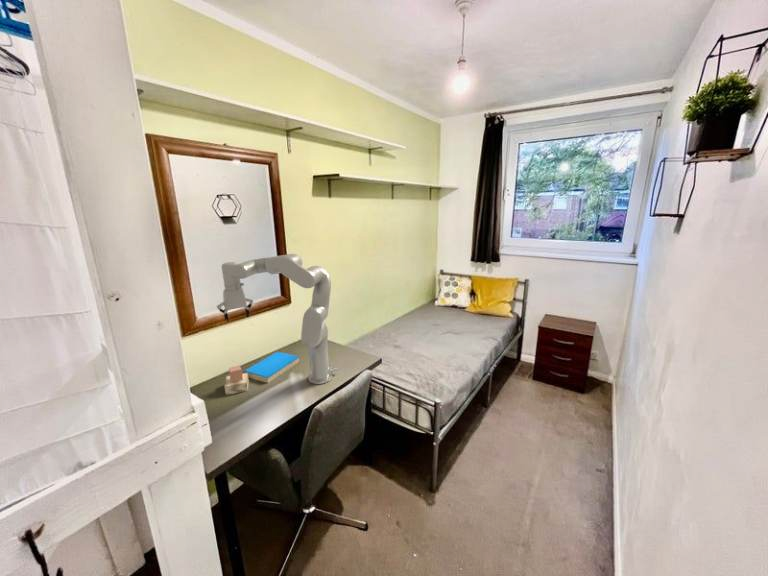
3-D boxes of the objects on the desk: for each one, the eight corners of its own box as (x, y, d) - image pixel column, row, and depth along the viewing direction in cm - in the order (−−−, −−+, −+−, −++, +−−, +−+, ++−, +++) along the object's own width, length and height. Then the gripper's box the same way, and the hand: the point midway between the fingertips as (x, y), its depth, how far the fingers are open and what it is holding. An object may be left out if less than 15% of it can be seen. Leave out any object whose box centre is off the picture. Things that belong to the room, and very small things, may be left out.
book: (299, 356, 188) (268, 376, 165) (299, 362, 189) (268, 384, 167) (276, 351, 194) (243, 370, 172) (277, 357, 195) (244, 377, 173)
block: (240, 375, 165) (239, 365, 164) (242, 379, 161) (241, 369, 160) (230, 378, 163) (228, 367, 161) (232, 382, 158) (230, 372, 157)
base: (248, 381, 169) (247, 372, 168) (247, 391, 160) (246, 382, 159) (228, 384, 166) (226, 376, 165) (225, 395, 157) (224, 386, 156)
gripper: (249, 282, 171) (253, 313, 175) (212, 287, 161) (218, 319, 166) (252, 285, 165) (256, 317, 169) (215, 291, 155) (220, 324, 160)
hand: (237, 318), depth 167 cm, fingers open, 9 cm apart
